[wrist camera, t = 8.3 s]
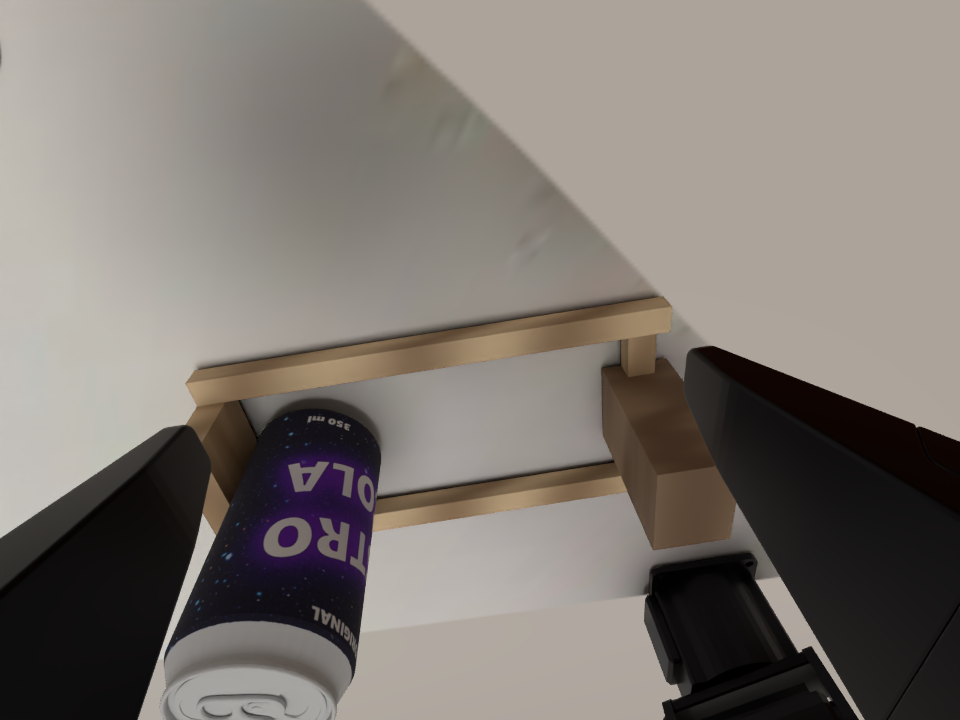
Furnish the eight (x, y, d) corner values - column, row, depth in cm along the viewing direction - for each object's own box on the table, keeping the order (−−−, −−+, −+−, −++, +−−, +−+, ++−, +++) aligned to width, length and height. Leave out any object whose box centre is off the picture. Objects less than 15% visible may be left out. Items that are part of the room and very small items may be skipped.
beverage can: (381, 488, 27) (351, 756, 17) (268, 485, 27) (165, 763, 16) (383, 399, 24) (347, 657, 14) (256, 394, 24) (121, 661, 13)
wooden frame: (669, 295, 22) (755, 386, 16) (659, 472, 28) (721, 589, 22) (194, 370, 23) (108, 488, 17) (276, 532, 28) (234, 664, 22)
